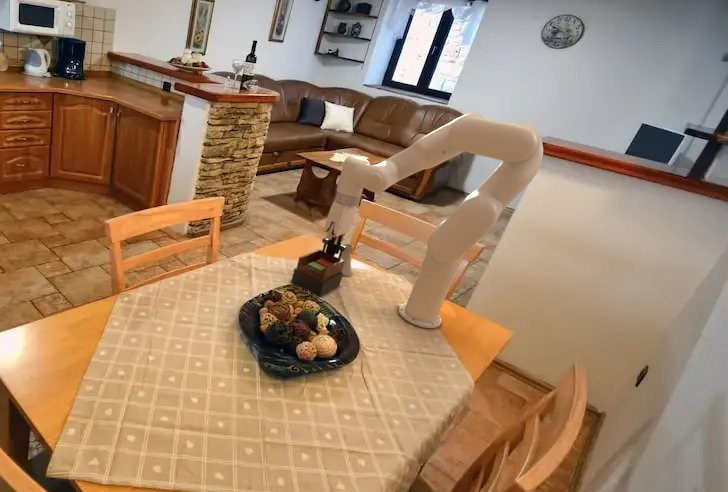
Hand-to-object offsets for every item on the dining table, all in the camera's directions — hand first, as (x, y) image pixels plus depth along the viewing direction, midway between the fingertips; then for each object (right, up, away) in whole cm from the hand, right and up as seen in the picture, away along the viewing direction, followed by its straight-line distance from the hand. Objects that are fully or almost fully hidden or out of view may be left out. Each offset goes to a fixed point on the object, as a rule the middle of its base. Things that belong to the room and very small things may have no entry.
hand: (331, 252), depth 160 cm
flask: (+6, -6, +13) cm, 15 cm away
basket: (-4, -6, -2) cm, 7 cm away
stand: (-5, -10, +1) cm, 11 cm away
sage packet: (-6, -6, -4) cm, 9 cm away
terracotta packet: (-3, -4, 0) cm, 5 cm away
